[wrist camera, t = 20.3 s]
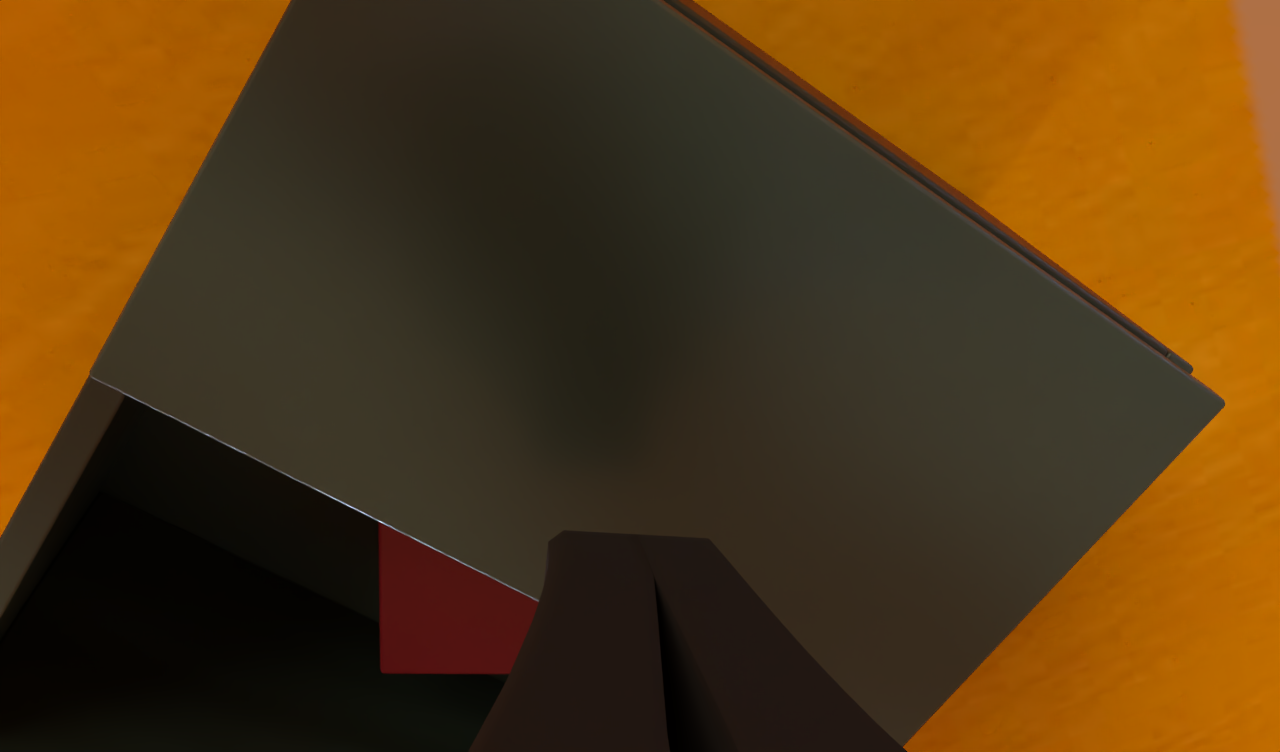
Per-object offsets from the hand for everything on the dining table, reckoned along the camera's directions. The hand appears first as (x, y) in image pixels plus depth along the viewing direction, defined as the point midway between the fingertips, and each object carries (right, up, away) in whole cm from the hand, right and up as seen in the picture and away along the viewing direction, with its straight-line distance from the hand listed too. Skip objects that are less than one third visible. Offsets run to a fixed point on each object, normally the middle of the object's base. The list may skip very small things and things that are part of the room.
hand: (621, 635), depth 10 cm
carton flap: (+1, +2, +2) cm, 3 cm away
